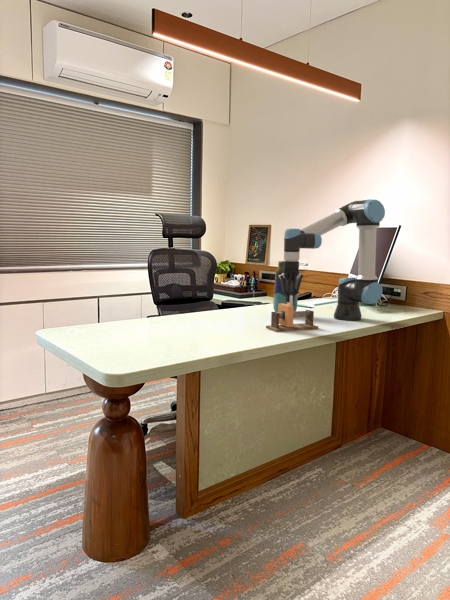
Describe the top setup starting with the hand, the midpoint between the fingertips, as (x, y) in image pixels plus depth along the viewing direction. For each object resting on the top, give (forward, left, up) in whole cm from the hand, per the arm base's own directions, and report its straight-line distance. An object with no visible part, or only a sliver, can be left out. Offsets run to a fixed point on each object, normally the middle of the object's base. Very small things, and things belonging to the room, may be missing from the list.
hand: (289, 308), depth 227 cm
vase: (-18, -36, -10) cm, 41 cm away
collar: (+2, 0, -8) cm, 8 cm away
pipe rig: (-2, 0, -10) cm, 10 cm away
